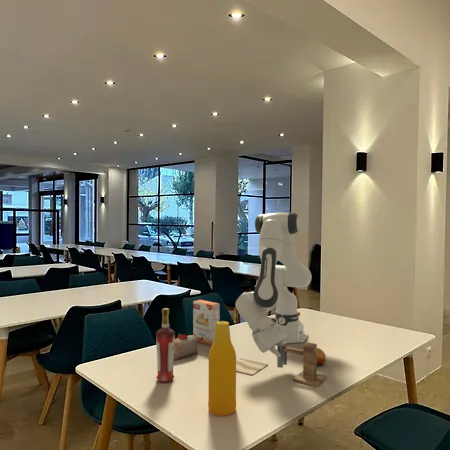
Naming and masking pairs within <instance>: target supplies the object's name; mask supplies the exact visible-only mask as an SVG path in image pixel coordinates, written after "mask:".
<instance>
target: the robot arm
mask: <svg viewBox="0 0 450 450" xmlns="http://www.w3.org/2000/svg"><path fill="white" fill-rule="evenodd" d="M254 227H255V232H256V233H257V234H258V235H259V240H258V254H259V258H260V271H259V281H258V282H257V284H256V286H255V287H254V290H253V291H248V292H247V291H244V292H243V293H241V294H240V295H239V296H238V298H236V299H235V308H236V310H237V312H238V313H239V315H240V316H241V318H242V319H243V320H244V321H245V322H246V323H247V325H248V326H249V328H250V330H251V331H252V334H251V336H252V339H253V341H254V344H255V345H256V346H257V348H258V350H259V352H261V353H263V354H265V353H266V352H268V351H270V353H272V354H273V355H275V356H276V358H279V357H280V356H281V355H282V354H281V352H280V351H277V348H276V347H277V345H278V344H280V343H281V342H286V343H287V344H295V343H297V344H298V343H301V344H302V343H305V341H306V339H307V338H308V336H309V333H307V332H305V326H304V324H303V322H302V321H300V318H299V316H301V312H300V311H298V298H297V296H296V295H295V294H293V293H291V291H290V290H289V289H288V288H289V287H290V288H304V287H308V286H309V285H310V284H311V281H312V273H311V270H310V269H309V268H308V267H307V266H306V265H304V264H303V263H302V262H301V261H300V260H299V258H298V255H297V252H296V245H295V238H294V235H295V234H298V233H299V230H300V227H301V219H300V217H299V215H298V214H297V213H295V212H291V211H290V212H281V211H280V212H279V211H278V212H270V213H261V214H258V215H257V216H256V217H255V221H254ZM278 261H279V262H280V263H281V264H282V265H281V264H277V262H278ZM274 309H275V314H274V316H275V317H271V316H268V315H267V314H266V313H269V312H270V311H272V310H274Z"/></svg>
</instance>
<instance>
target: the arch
mask: <svg viewBox="0 0 450 450" xmlns="http://www.w3.org/2000/svg"><path fill="white" fill-rule="evenodd" d="M284 347H288V343H286V342H281V343H280V344H278V345H276V350H277V351H280V352H281V354H282V355H281V356H280V357H279V358H277V357H276V358H277V359H276V364H277V366H276V367H277V368H281V369H282V368H284V366H285V365H288V352H283V348H284Z"/></svg>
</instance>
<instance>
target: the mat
mask: <svg viewBox="0 0 450 450" xmlns="http://www.w3.org/2000/svg"><path fill="white" fill-rule="evenodd" d="M267 366H269V363H265V362H264V363H263V362H260V361H255V360H250V359H246V358H241V357H239V358H238V359H236V373H238V374H239V373H240V374H243V375H248V376H254V375H256V374H257V373H259V372H260V371H261V370H263V369H265V368H266V367H267Z"/></svg>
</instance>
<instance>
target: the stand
mask: <svg viewBox="0 0 450 450" xmlns="http://www.w3.org/2000/svg"><path fill="white" fill-rule="evenodd" d="M317 346H318V344H317V343H314V342H308V341H307V342H305V343H303V345H302V348H303V349H301V348H294V347H289V346H287V347H284V348H283V352H287V354H288V353H290V354H294V355H299V356H302V365H303V366H302V370H301V372H300V373H298V374H296V376H294V377H293V378H292V382H295V383H299V384H303V385H307V386H311V387H316V388H318V387H319V386H321V384H323V382H324V381H326V380H327V375H324V374H320V373H317V371H318V370H317V368H318V366H317V348H318V347H317Z"/></svg>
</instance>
